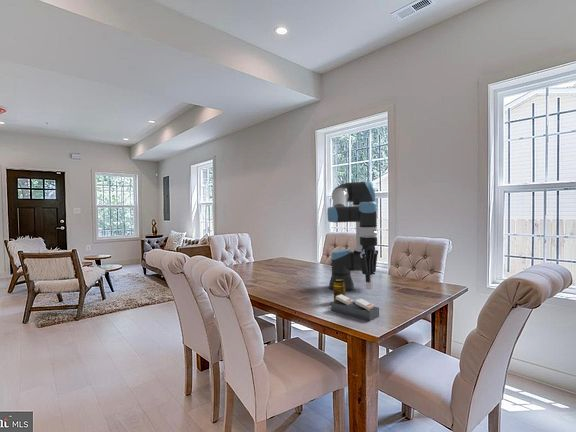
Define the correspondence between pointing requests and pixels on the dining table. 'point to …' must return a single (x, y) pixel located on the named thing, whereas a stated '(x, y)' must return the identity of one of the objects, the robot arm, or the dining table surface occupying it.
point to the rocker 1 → (344, 299)
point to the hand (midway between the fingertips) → (369, 288)
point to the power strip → (354, 310)
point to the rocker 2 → (364, 304)
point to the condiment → (339, 288)
